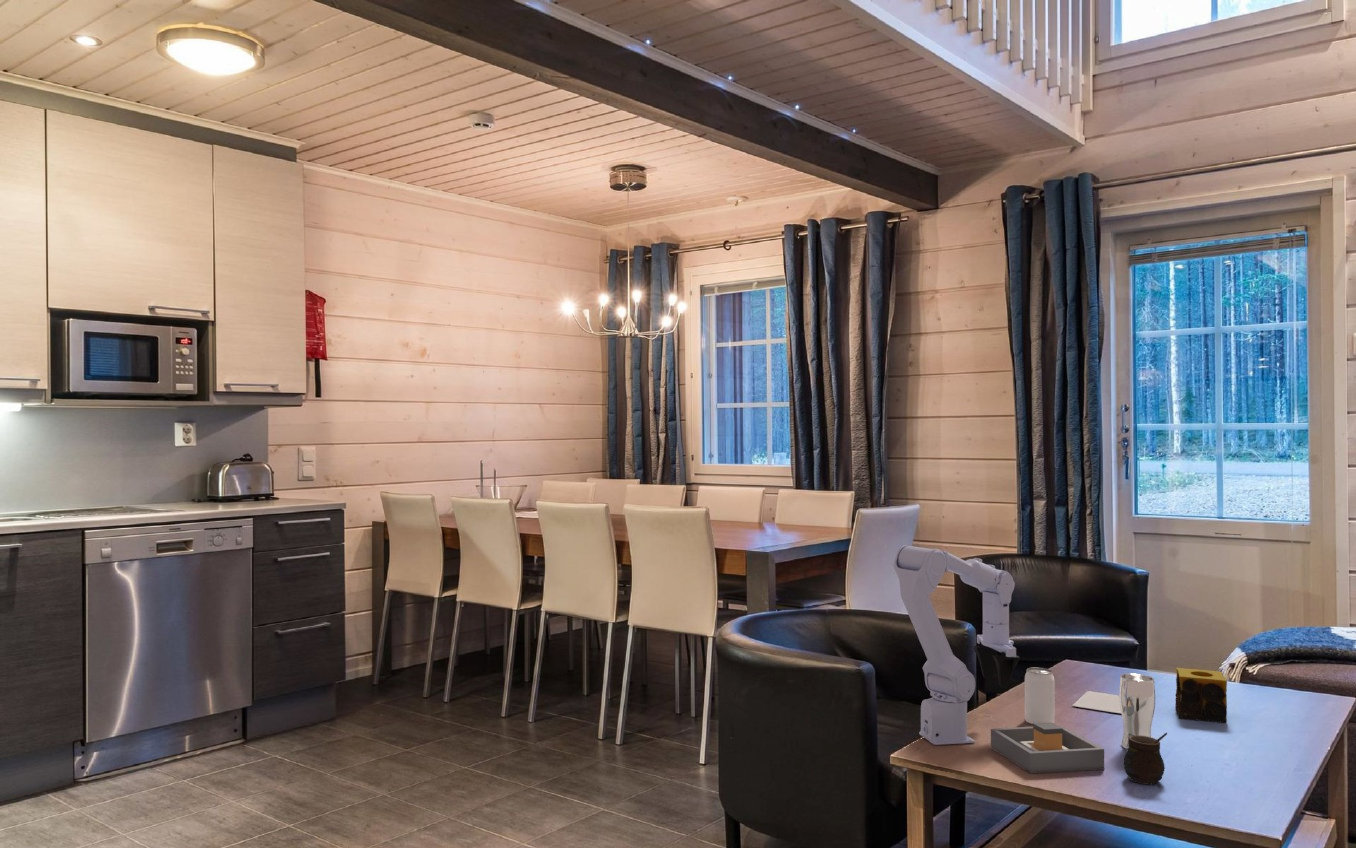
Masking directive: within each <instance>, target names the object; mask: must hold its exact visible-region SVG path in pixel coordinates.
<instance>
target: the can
mask: <svg viewBox="0 0 1356 848" xmlns="http://www.w3.org/2000/svg"><path fill="white" fill-rule="evenodd" d="M1024 720H1025V722H1026V723H1027V724H1029V725H1032V726H1033V723H1049V722H1052V723H1054V724H1055V677H1054V675H1053V670H1051V669H1049V668H1044V667H1029V668H1027V669H1026V673H1025V675H1024Z"/></svg>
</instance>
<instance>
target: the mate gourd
mask: <svg viewBox="0 0 1356 848" xmlns="http://www.w3.org/2000/svg"><path fill="white" fill-rule="evenodd" d="M1167 735H1168V732H1165V733H1164V734H1162V735H1161V736H1160V737H1158V738H1154V737H1152V736H1151V737H1147V736H1140V735H1135V736H1130V737H1129V741H1128V744H1129V747H1128V749H1126V752H1125V754H1124V757H1123V768H1124V770H1125V774H1126V775H1127V776H1128V778H1130V780H1131V781H1133V782H1135V783H1138V784H1142V785H1155V784H1157V783H1158V782H1159V781H1161V780H1163V776H1164V774H1165V773H1164V772H1165V769H1166V767H1165V762H1164V759H1163V757H1162V755H1161V752H1160V749H1161V742H1160V741H1161V740H1162V739H1164V738H1165V737H1166V736H1167Z"/></svg>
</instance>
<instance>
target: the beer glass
mask: <svg viewBox="0 0 1356 848" xmlns="http://www.w3.org/2000/svg"><path fill="white" fill-rule="evenodd" d="M1119 678H1120V679H1119V681H1120V682H1119V687H1118V688H1119V689H1118V691H1119V701H1120V709H1121V713H1120V714H1121V719H1122V725H1123V726H1122V727H1123V735H1122V739H1121V747H1122V748H1124V749H1126V750H1128V747H1129V744H1128V741H1129V737H1130V736H1135V735H1140V736H1147V737H1151V738H1152V733H1151V732H1152V726H1153V725H1152V724H1153V720H1154V715H1155V708H1156V689H1155V678H1154V677H1152V676H1150V675H1145V674H1140V673H1122V674H1121V675H1120V677H1119Z"/></svg>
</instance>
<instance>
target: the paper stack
mask: <svg viewBox="0 0 1356 848" xmlns="http://www.w3.org/2000/svg"><path fill="white" fill-rule="evenodd" d="M1071 706H1073V707H1078V708H1082V709H1089V710H1096V711H1103V712H1107V713H1108V712H1109V713H1116V714H1121V709H1120V701H1119V695H1118V694H1111V693H1104V692H1098V691H1090V690H1087V691H1086V692H1085V693H1083V695H1082V696H1081V697H1080V698H1079V699H1078V700H1077V701H1075V702H1074V703H1073V704H1072V705H1071Z"/></svg>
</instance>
